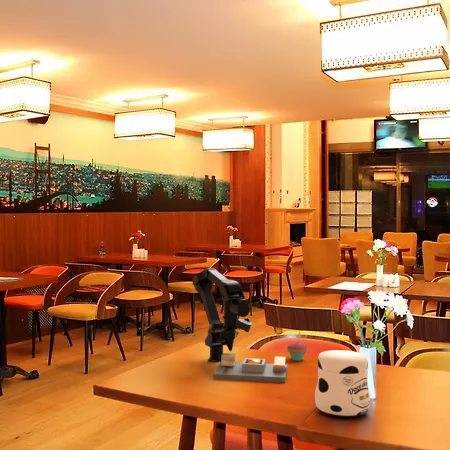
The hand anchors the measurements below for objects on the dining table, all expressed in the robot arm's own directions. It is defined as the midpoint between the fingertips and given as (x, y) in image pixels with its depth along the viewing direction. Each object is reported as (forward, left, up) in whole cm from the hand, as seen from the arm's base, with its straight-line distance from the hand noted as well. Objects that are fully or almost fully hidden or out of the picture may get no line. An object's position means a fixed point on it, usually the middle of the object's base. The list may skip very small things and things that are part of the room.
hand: (230, 350), depth 239 cm
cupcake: (-15, +27, -7) cm, 31 cm away
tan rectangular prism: (+7, 0, -4) cm, 8 cm away
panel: (+10, +10, -6) cm, 15 cm away
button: (+10, +11, -4) cm, 15 cm away
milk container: (+47, +43, -7) cm, 63 cm away
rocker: (+10, +21, -1) cm, 23 cm away
